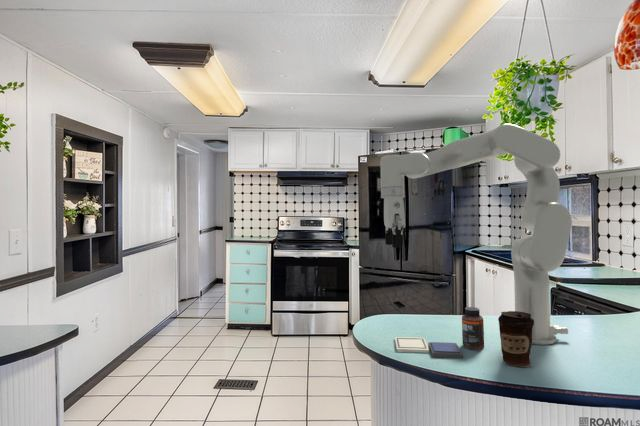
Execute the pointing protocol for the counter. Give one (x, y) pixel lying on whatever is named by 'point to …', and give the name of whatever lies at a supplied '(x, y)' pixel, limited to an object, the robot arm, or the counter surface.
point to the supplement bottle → (472, 329)
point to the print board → (411, 344)
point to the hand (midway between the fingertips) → (393, 245)
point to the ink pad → (445, 350)
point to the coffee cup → (516, 337)
